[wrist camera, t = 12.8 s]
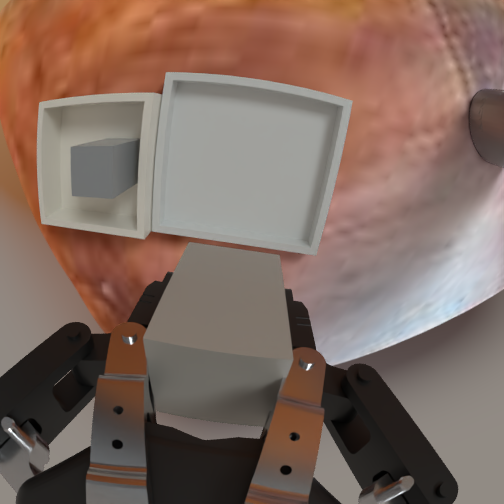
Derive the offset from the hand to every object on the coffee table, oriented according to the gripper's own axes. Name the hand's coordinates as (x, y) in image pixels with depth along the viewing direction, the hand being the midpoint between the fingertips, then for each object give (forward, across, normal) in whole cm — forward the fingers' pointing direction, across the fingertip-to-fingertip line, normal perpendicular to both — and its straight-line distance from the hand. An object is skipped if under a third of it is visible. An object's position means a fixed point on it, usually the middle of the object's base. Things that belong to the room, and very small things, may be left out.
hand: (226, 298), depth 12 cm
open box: (+15, +14, -3) cm, 21 cm away
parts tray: (+15, 0, -4) cm, 15 cm away
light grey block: (+1, 0, 0) cm, 1 cm away
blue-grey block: (+14, +12, -3) cm, 19 cm away
